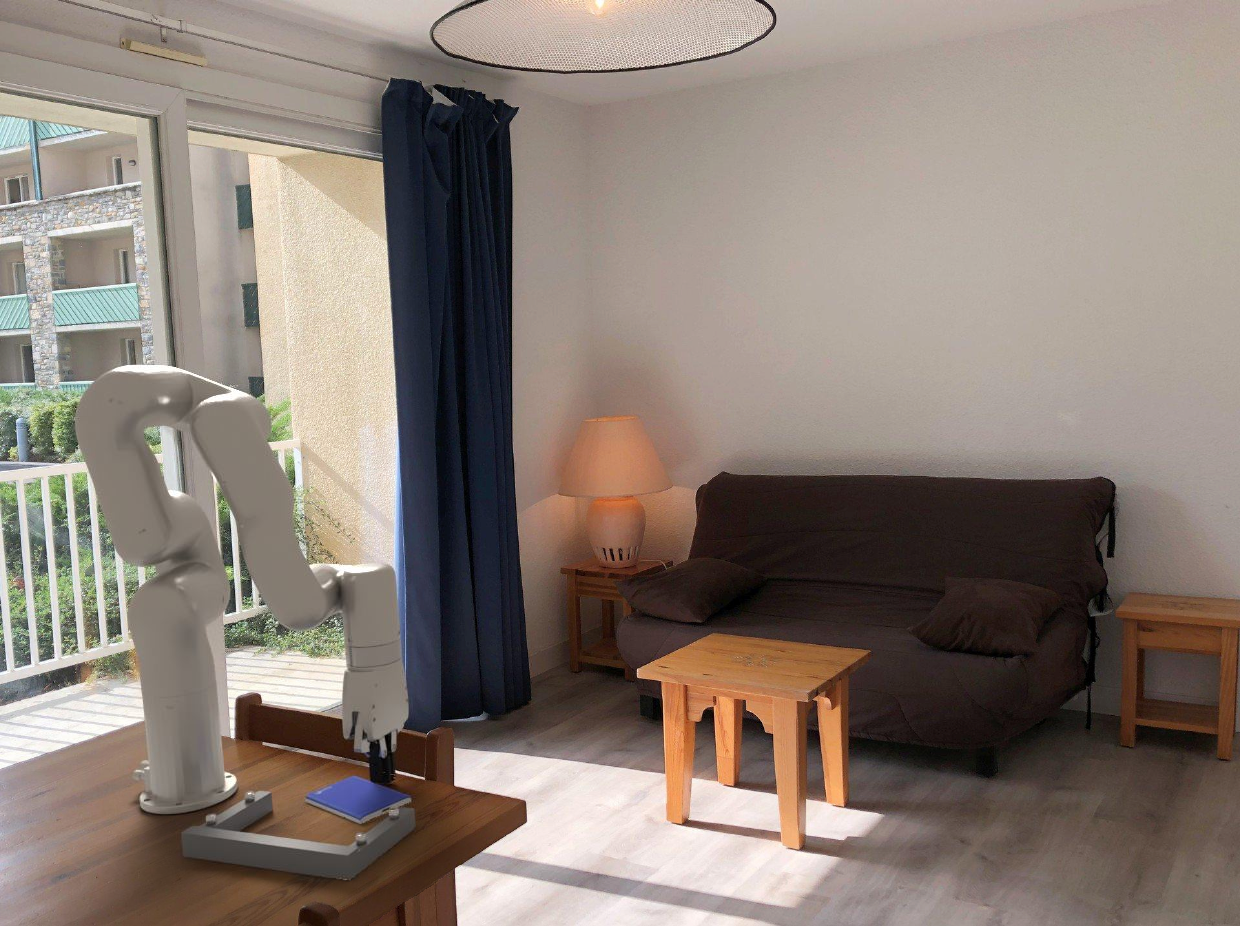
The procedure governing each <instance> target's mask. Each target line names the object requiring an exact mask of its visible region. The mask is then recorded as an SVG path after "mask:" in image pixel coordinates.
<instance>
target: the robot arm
mask: <svg viewBox="0 0 1240 926" xmlns="http://www.w3.org/2000/svg"><path fill="white" fill-rule="evenodd" d="M74 417H75V418H74V429H75V436H76V439H77V444H78V446H79V450H80V452H81V455H82V458H83V460H84V462H85V465H86V468H87V470H88V473H89V476H90V478H91V482H92V484H93V488H94V491H95V495H96V497H97V500H98V504H99V506H100V509H101V512H102V515H103V518H104V521H105V524H106V526H107V529H108V533H109V536H110V538H111V542H112V545H113V547H114V549H115V551H116V553H117V555H118V556H119V557H120V558H121V559H122V561H124V562H125V563H127V564H129V565H130V566H133V567H139V568H147V567H152V566H153V567H154V569H155V571H156V574H157V575H154V576H153V577H151V578H149V579H148V580H146V581H145V582H144V583H143V584H142V585H140V586H139V588H138V589H137V590H136V591H135V593H134V594H133V596H132V598H131V600H130V603H129V605H128V610H127V623H128V627H129V628H128V629H129V631H130V635H131V639H132V643H133V645H134V646H133V647H134V650H135V654H136V659H137V665H138V671H139V679H140V680H139V681H140V691H141V695H142V705H143V706H142V708H143V717H144V728H145V729H144V730H145V736H146V737H145V738H146V739H145V740H146V748H147V759H148V760H146V759H145V760H142V761H141V762H140V763H139V765H138V769H135V770H134V771H133V773H132V779H133V780H136V781H144V782H145V784H144V785H145V790H143V791H142V793H141V794H140V795H139V806H140V807H141V808H140V809H142V810H143V811H145V812H147V813H151V814H154V815H155V814H156V815H157V814H158V815H174V814H175V815H176V814H184V813H188V812H194V811H199V810H202V809H205V808H208V807H212V806H214V805H216V804H218V803H221V802H223V801H225V800H226V799H228V798H230V797H231V796H232V795H233V794H234V793H236V791H237V789H238V778H237V777H236V776H235V775H234V774H232V773H230V772H229V771H228V772H227V771H225V764H224V763H225V762H224V752H223V742H222V741H223V740H222V729H221V719H220V710H219V709H220V708H219V707H220V706H219V695H218V685H217V675H216V667H215V660H214V655H213V654H214V653H213V651H212V648H211V645H210V642H209V638H208V635H207V630H206V627H207V626H209V625H210V624H212V623H213V622H214V621H216V620H218V619H219V617H221V616H222V615H223V614H224V612H225V611H226V609H227V607H228V605H229V602H230V598H231V585H230V581H229V576H228V573H227V570H226V566H225V564H224V561H223V557H222V556H221V552H220V549H219V546H218V543H217V541H216V537H215V535H214V532H213V528H212V526H211V522H210V520H209V518H208V515H207V514H206V511H205V510H204V508H203V507H202V506H201V505H200V503H199V502H198V501H197V500H196V499H195V498H193V496H191V495H189V494H187V493H185V492H182V491H178V490H169V489H168V487H167V485H166V482H165V479H164V476H163V474H162V470H161V467H160V466H161V465H160V463H159V461H158V458H157V456H156V455H155V453H154V452H153V450H152V448H151V446H150V445H149V443H148V442H147V440H146V438H145V431H146V430H147V429H148V428H157V427H162V426H163V427H168V428H171V429H174V430H177V431H180V432H182V433H185V434H188V435H190V437H191V439H192V442H193V443H194V444H193V445H194V446H195V447H196V449H197V451H198V453H199V454H200V457H201V459H202V460H203V462H204V464H205V465H206V467H207V470H208V471H209V473H210V474H211V476H212V477H213V480H214V482H215V484H216V485H217V487H218V489H219V491H220V493H221V494H222V496H223V499H224V501H225V502H226V504H227V506H228V507H229V510H230V511H231V513H232V516H233V517H234V521H235V526H236V532H237V537H238V541H239V544H240V548H241V551H242V555H243V559H244V562H245V566H246V569H247V571H248V573H249V575H250V578H251V580H252V581H253V584H254V586H255V587H256V589H257V592H258V593H259V595H260V596H261V599H262V600H263V602H264V604H265V605H266V608H267V609H268V610H269V611H270V613H271V615H272V616H273V617H274V619H275V620H276V621H277V622H278V623H279V624H281V625H282V626H283V627H285V629H288V630H291V631H293V632H294V631H295V632H306V631H307V632H308V631H311V630H314V629H317V628H318V627H319V626H320V625H322V623H325V621H327V619H328V618H329V617H331V616H334V615H336V614H338V613H341V614H342V624H343V636H344V637H343V638H344V639H343V640H344V651H345V663H346V669H344V672H343V680H342V691H341V692H342V694H341V695H342V698H341V699H342V700H341V701H342V702H341V706H342V709H341V712H342V714H341V715H342V733H343V737H344V739H345V740H348V741H351V740H353V739H354V745H353V752H354V753H360V754H361V753H363V754H365V756H366V757H367V759H368V769H369V771H368V772H369V781H370V782H373V783H376V784H379V785H381V784H382V785H390V784H391V783H392V782H394V781H395V780H396V779H394V778H393V777H396V778H397V774H396V773H397V772H396V759H395V751H396V749H397V737H398V734H399V733H400V732H401V730H402V729H403V728H404V726H405V723H406V721H407V720H408V718H409V712H410V711H409V710H410V709H409V695H408V694H409V693H408V692H409V691H408V685H407V680H406V679H407V677H406V674H405V668H404V663H403V655H402V642H401V641H402V640H401V629H400V628H401V626H400V615H399V603H398V602H399V598H398V585H397V576H396V571H395V569H394V567H392V566H391V565H390V564H388V563H383V562H370V563H367V562H366V563H359V564H355V565H348V564H347V565H346V564H335V563H322V562H320V563H319V562H318V563H312V564H309V562H308V561H307V559H306V557H305V554H304V553H303V550H302V548H301V546H300V543H299V542H298V538H297V535H296V531H295V527H294V506H295V493H294V487H293V485H292V484H291V482H290V480H289V478H288V477H287V475H286V473H285V470H284V469H283V468H282V466H281V464H280V461H279V460H278V458H277V456H276V454H275V452H274V451H273V449H272V447H271V445H270V443H269V442H268V439H269V437H270V436H271V432H272V417H271V415H270V412H269V410H268V409H267V407H266V406H265V405H264V403H263V402H261V401H260V400H259V398H256V397H255V396H253V395H251V394H248V393H246V392H243V391H241V390H237V389H234V388H233V387H229V386H226V385H223V384H221V383H219V382H216V381H212V380H210V379H207V378H204V377H203V376H201V375H200V376H199V375H197V374H194V373H192V372H189V371H187V370H184V369H181V368H177V367H174V366H168V365H150V364H149V365H146V364H131V365H130V364H129V365H123V366H119V367H116V368H112V369H110V370H109V371H106V372H104V373H103V374H101V375H100V376H99V377H97V378H96V379H95V380H94V381H93V382H91V383H90V384H89V386H88V387H87V388H86V389H85V391H84V392H83V394H82V395H81V397H80V399H79V402H78V404H77V407H76V411H75V416H74ZM383 772H385V773H383ZM390 774H395V775H396V776H394V775H390Z"/></svg>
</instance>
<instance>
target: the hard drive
mask: <svg viewBox="0 0 1240 926" xmlns="http://www.w3.org/2000/svg"><path fill="white" fill-rule="evenodd" d="M409 802H410V803H412V796H411V795H410V794H409V795H408V794H406V793H402V792H400V791H397V790H394V789H391V788H389V787H387V786H384V785H381V784H379V783H373V782H371V781H370V780H369V779H368V780H367V779H365V778H362V777H359V776H357V775H352V776H349V777H347V778H345V779H343V780H340V781H338V782H335V783H332V784H329V785H327V786H323V788H320V789H318V790H314V791H312V792H309V793H308V794H307V795H306V796H305V803H307V804H310V805H312V806H314V807H317V808H320V809H322V810H324V811H327V812H329V813H332V814H334V815H337V816H340V817H341V818H344V817H345V819H347V820H349V821H351V822H353V823H357V824H359V825H362V823H363V824H365V823H367V822H369V821H371V820H370V819H372V818H374V817H376V818H378V817H380V815H381V814H383V815H385V814H386V813H385V812H387V813H389V812H388V811H389V810H390V809H392V808H398V807H399V806H401V807H403V806H405V805H404V804H406V803H408V804H410V803H409ZM402 805H403V806H402ZM406 805H407V804H406ZM399 808H400V807H399ZM399 808H398V809H399ZM384 813H385V814H384ZM377 816H378V817H377ZM381 816H382V815H381ZM374 819H375V818H374ZM372 820H373V819H372ZM366 821H367V822H366Z"/></svg>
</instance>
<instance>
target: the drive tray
mask: <svg viewBox="0 0 1240 926" xmlns="http://www.w3.org/2000/svg"><path fill="white" fill-rule="evenodd" d="M272 794H273V793H272V791H267V790H265V791H264V790H258V791H256V792H254V791H252V790H250V791H246V792H245V793H244V799H243V800H241V801H240V802H238V803H236V804H234V805H233V806H230V807H229V808H227V809H225V810H224V811H223V812H220V813H219V814H216V813H209V814H207V815H206V816H205V822H203V823H202V824H200V825H191V826H190V827H187V829H185V830H183V831H182V832H180V836H181V845H182V847H181V848H182V857H184V858H192V859H198V860H204V861H211V862H212V861H213V862H219V863H226V864H233V865H238V866H239V865H240V866H245V867H251V868H252V867H253V868H259V869H265V870H273V871H280V872H287V873H293V874H301V875H306V876H307V875H308V876H312V877H313V876H314V877H320V876H321V877H320V878H328V879H333V878H338V879H337V880H340V878H341V879H347V880H350V879H352V878H353V879H354V878H355V877H357V876H358V875H359V874H360V873H362V872H361V871H362V870H363V869H364V868H365V869H366V867H367V868H368V867H369V866H370V865H372V864H373V863H374V862H375V861H377V860H378V859H379V858H380V857H382V856H383V855H384V854H385V853H386V852H388V851H389V850H390V849H392V848H393V845H394V844H395V845H397V843H399V842H400V841H401V840H402V839H403V837H404V836H405V837H406V836H407V835H409V834H410V833H411V832H412V831H413V830H415V829H416V828H415V827H416V815H415V814H416V813H415V808H412V807H406V806H401V807H399V808H392V809H390V810H389V812H388V816H387V817H385V818H384V819H383V820H382V821H380V822H379V823H377V824H376V825H375V826H374V827H372V828H371V829H369V830H368V831H367V832H358V833H356V834H355V835H354V836H355V840H354V841H353V843H351V844H350V845H341V844H334V843H325V842H318V841H313V840H304V839H298V838H297V839H296V838H288V837H281V836H274V835H268V834H258V833H252V832H244V831H242V830H244V829H245V828H247V827H249V826H250V825H252V824H253V823H256V822H257V821H258V820H259V819H261V818H263V817H264V816H266V815H268V814H269V813H270V812H272V811H273V810H274V809H273V797H272V796H273V795H272ZM414 828H415V829H414ZM411 830H412V831H411ZM405 837H404V838H405ZM395 845H394V846H395ZM388 849H389V850H388ZM383 853H384V854H383ZM382 854H383V855H382ZM379 856H380V857H379ZM378 857H379V858H378ZM377 858H378V859H377ZM374 860H375V861H374ZM373 861H374V862H373ZM372 862H373V863H372ZM368 865H369V866H368ZM365 869H364V870H365ZM364 870H363V871H364ZM359 872H360V873H359ZM358 873H359V874H358ZM357 874H358V875H357ZM356 875H357V876H356ZM353 879H352V880H353ZM350 881H351V880H350Z"/></svg>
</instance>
